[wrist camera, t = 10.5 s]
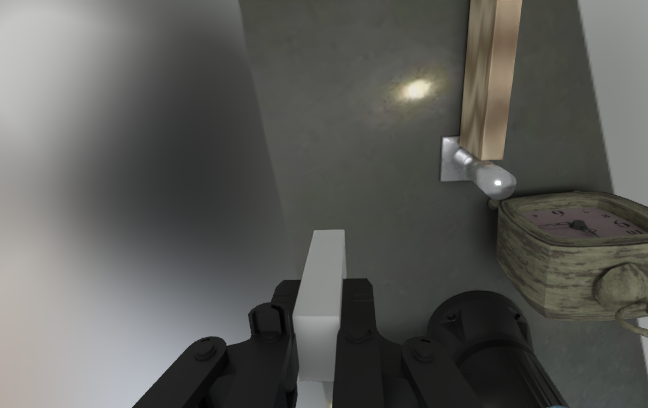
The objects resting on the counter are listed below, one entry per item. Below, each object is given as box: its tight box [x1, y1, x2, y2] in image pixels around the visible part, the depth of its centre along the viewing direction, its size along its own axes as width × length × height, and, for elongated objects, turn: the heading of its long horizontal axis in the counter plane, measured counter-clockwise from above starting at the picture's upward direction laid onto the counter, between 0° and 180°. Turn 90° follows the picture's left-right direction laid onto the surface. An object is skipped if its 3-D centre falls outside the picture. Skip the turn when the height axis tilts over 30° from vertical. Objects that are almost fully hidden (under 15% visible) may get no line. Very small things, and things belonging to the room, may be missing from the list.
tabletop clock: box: [488, 190, 648, 337], centre depth 38 cm, size 14×9×25 cm, turn 98°
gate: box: [460, 0, 522, 160], centre depth 37 cm, size 22×2×8 cm, turn 3°
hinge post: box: [439, 136, 516, 200], centre depth 41 cm, size 6×6×13 cm
